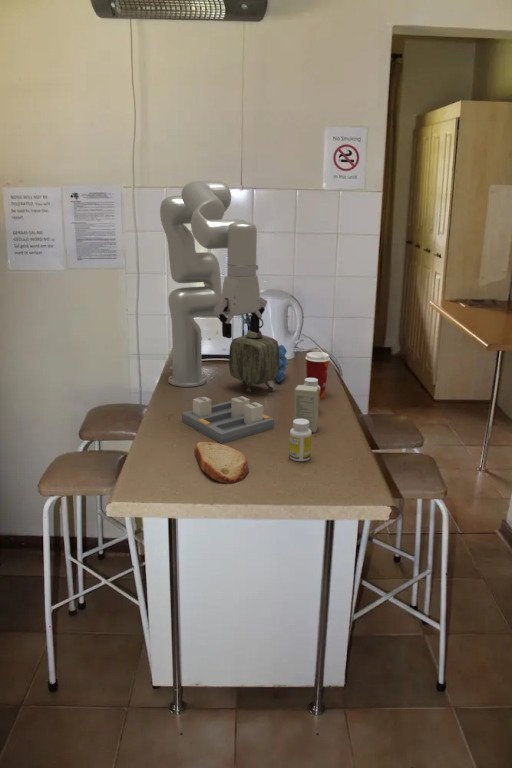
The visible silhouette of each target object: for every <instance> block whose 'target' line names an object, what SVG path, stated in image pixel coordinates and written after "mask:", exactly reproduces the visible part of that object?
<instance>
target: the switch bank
mask: <svg viewBox="0 0 512 768" xmlns="http://www.w3.org/2000/svg"><path fill="white" fill-rule="evenodd" d="M181 418H182V419H181V422H182V423H184V424H185V425H187V426H188V427H190V428H192V429H194V430H196V431H198V432H200V433H202V434H203V435H205V436H207V437H209V438H210V439H212V440H213V441H216V442H217V443H219V444H225V443H229V442H231V441H236V440H239V439H242V437H243V438H245V437H249V436H252V435H255V434H259V433H262V432H266V431H269V430H273V429H274V428H275V419H274V418H272V417H270V416H268V415H267V414H265V413H263V420H261V421H258V422H254V423H251V424H247V425H246V424H244V415H243V416H239V417H235V418H232V417H231V400H229V401H225V402H220V403H218V404H213V405H212V414H210V415H206V416H202V417H198V416H196V415H194V414H193V409H192V410H189V411H184V412H182V413H181Z"/></svg>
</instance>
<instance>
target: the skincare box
mask: <svg viewBox="0 0 512 768" xmlns="http://www.w3.org/2000/svg"><path fill="white" fill-rule="evenodd" d="M293 393H294V396H293V397H294V399H293V401H294V405H293V407H294V408H293V409H294V411H293V412H294V414H293V416H294V417H293V421H294V420H295V419H306V420H308V421H309V429H310V430H311V433H316V432H317V430H318V428H319V412H318V408H319V409H320V402H319V387H317V386H305V385H304V384H298V385H297V386H296V387H294V392H293Z"/></svg>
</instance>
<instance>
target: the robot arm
mask: <svg viewBox="0 0 512 768" xmlns="http://www.w3.org/2000/svg"><path fill="white" fill-rule="evenodd" d="M231 202H232V192H231V189H230V188H229V186H228V185H227V184H226V183H225V182H223V181H219V180H217V181H216V180H215V181H214V180H213V181H212V180H210V181H208V180H195V181H191V182H190V181H189V183H187V184H185V185H184V186H183V188H182V190H181V195H172V196H167V197H165V198H164V199H163V200H162V201H161V204H160V208H159V216H160V221H161V225H162V229H163V230H164V234H165V236H166V240H167V247H168V249H167V250H168V259H169V268H170V277H171V278H172V280H173V281H174V282H175V283H178V284H194V283H203V286H187V287H180V288H176V289H174V290H172V291H171V292H170V293H169V295H168V307H169V312H170V319H171V335H172V337H171V339H172V342H171V343H172V344H171V345H172V365H171V366H169V370H170V371H172V374H171V375H170V376H169V377H168V378H167V379H168V380H167V381H168V383H169V384H171V385H172V386H175V387H181V388H182V387H183V388H189V387H190V388H191V387H192V388H193V387H199V386H202V385H204V384H205V383H206V382H207V377H206V376H205V375H204V374H202V371H203V370H202V329H201V327H200V325H199V324H198V322H196V321H195V318H196V317H205V316H215V315H216V318H218V320H219V321H220V323H221V332H222V333H221V335H222V337H223V338H226V339H231V338H232V337H233V336H232V334H233V333H232V332H233V330H232V329H233V327H232V325H233V324H232V323H231V321H232V320H233V318H234V317H235V316H236V317H237V316H242V315H248V314H249V315H252V316H253V317H249V318H250V319H249V322H250V323H249V324H250V327H249V330H250V331H252V332H255V333H259V330H260V328H259V327H260V326H261V325H260V324H261V323H260V322H261V320H260V318H261V319H262V317H263V314H264V312H265V308H266V306H267V303H268V300H266V299H265V298H262V297H261V296H260V284H259V277H258V275H257V271H258V270H259V265H258V264H257V241H258V240H257V238H258V237H257V236H258V234H257V233H258V232H257V231H258V230H257V229H258V228H257V226H256V224H254V222H253V223H252V222H248V221H246V220H244V219H239V218H238V219H229V218H228V219H225V218H224V216H225V213H226V212H227V210H228V209H229V208H230V206H231ZM223 218H224V219H223ZM187 224H189V225H190V228H191V230H189V228H188V227H187V226H186V225H187ZM195 240H196V241H197V243H198V244H199V245H200V246H201V247H203V248H205V249H209V250H216V249H217V250H218V249H220V250H221V249H227V263H226V264H227V266H226V268H227V269H226V270H227V271H226V272H227V276H224V279H223V283H222V278H221V268H220V264H219V263H220V262H219V260H218V257H217V256H216V255H215V254H214V253H212V252H208V251H207V252H197V250H196V244H195V243H196V242H195Z"/></svg>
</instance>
